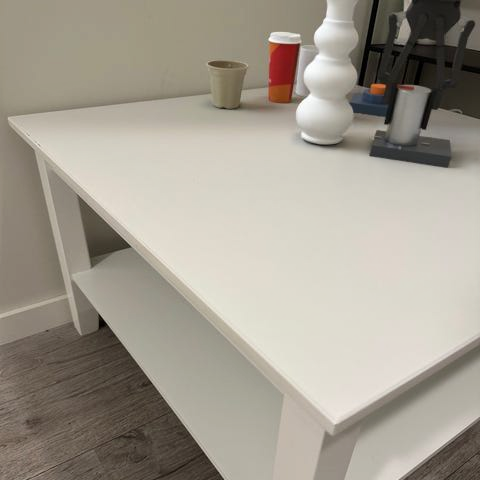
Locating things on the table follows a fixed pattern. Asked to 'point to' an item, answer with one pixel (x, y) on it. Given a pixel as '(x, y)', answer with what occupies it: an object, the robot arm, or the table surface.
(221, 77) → the flower pot
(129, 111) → the table surface
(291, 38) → the paper cup
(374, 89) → the button
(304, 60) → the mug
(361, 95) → the block
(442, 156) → the control panel
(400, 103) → the dial
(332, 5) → the vase
